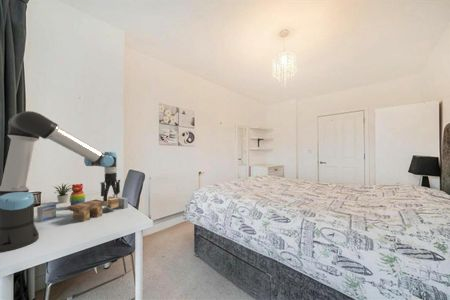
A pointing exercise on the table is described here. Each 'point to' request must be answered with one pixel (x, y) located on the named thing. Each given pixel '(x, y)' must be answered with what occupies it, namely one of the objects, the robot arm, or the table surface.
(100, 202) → the slab
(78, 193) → the stacking bear
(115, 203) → the skid
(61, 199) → the house plant
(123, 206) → the block
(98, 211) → the bed
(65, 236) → the table surface
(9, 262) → the table surface
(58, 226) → the table surface
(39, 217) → the medicine box
